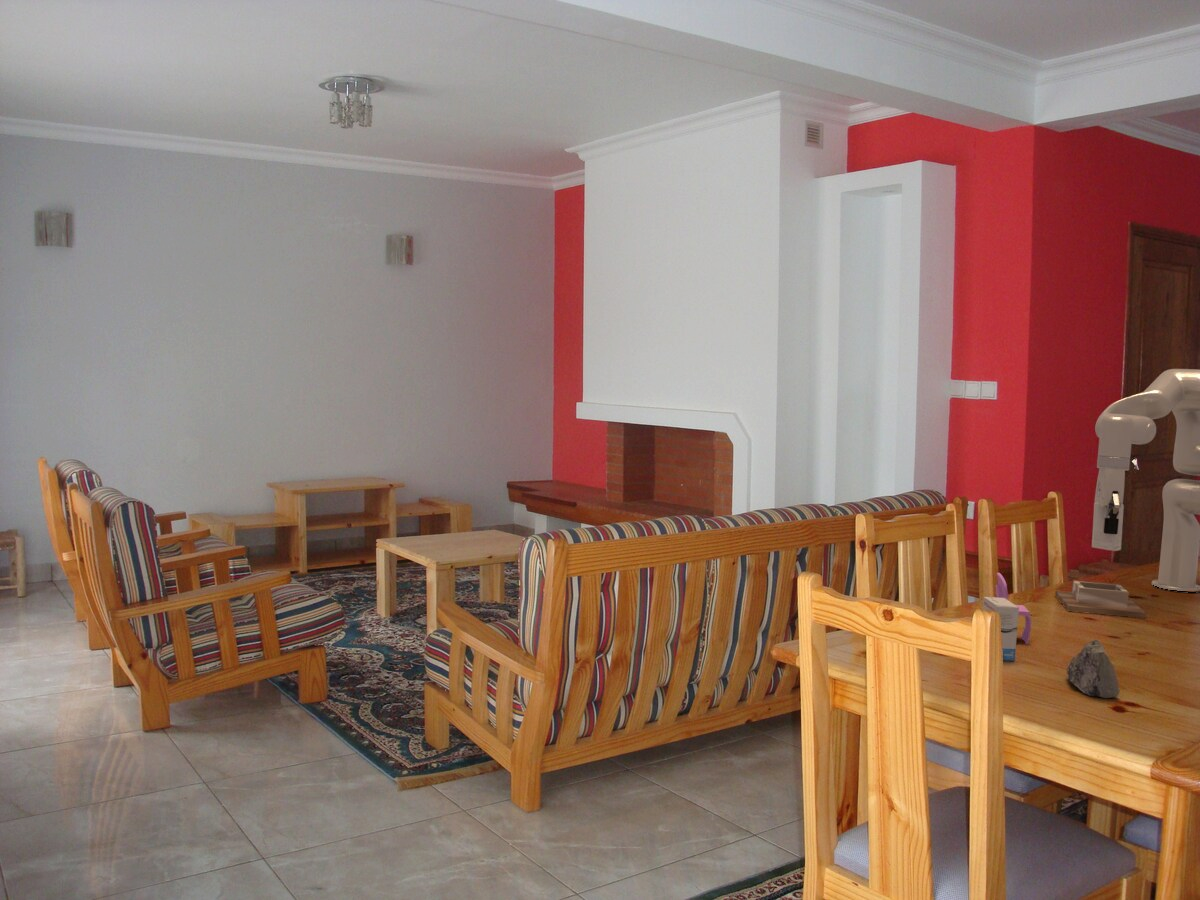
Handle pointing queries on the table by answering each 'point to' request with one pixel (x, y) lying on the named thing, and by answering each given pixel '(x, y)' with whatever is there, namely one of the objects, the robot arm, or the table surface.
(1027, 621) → the toy chair
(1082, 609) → the collar plate
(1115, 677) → the mineral rock
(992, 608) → the ink box
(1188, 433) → the robot arm
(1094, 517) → the skincare box
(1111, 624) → the table surface
